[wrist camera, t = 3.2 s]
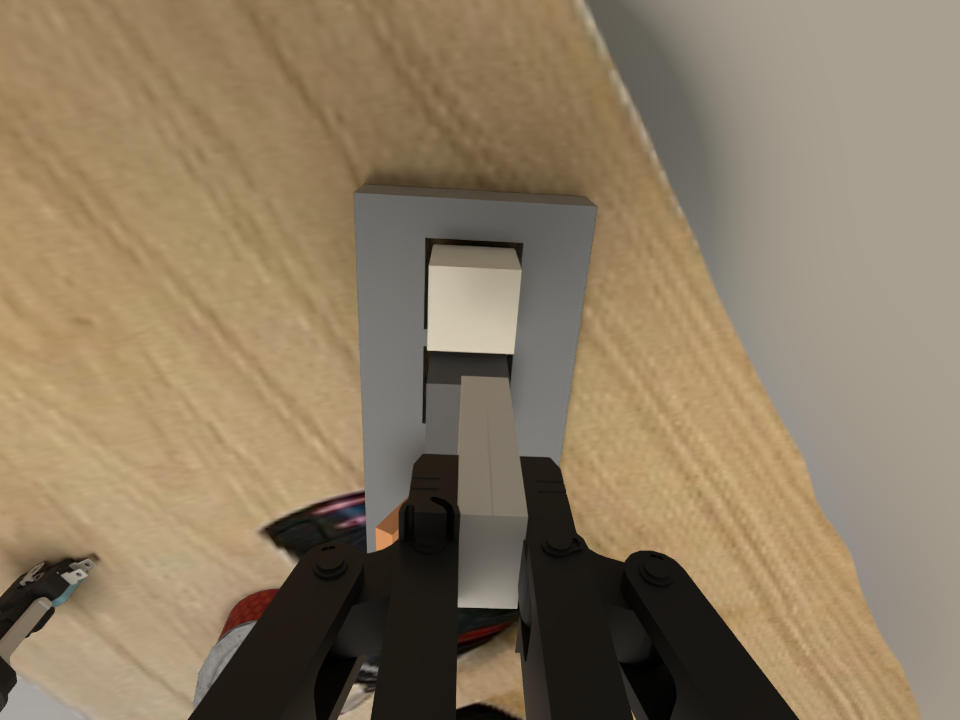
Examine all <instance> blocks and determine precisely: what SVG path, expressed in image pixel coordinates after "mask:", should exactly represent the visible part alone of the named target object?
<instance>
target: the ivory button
mask: <svg viewBox="0 0 960 720" xmlns="http://www.w3.org/2000/svg"><path fill="white" fill-rule="evenodd" d="M521 273H522V269H521V266H520V263H519V260H518V257H517V254H516V251H515V248H499V247H480V246H461V245H442V244H433V248H432V253H431V258H430V263H429V284H428V335H427V350H428V351H451V352H474V353H497V354H514V348H515V337H516V327H517V316H518V305H519V295H520V284H521Z"/></svg>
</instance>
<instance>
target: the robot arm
mask: <svg viewBox="0 0 960 720" xmlns="http://www.w3.org/2000/svg"><path fill="white" fill-rule="evenodd" d="M563 482H564V481H563V477H562V473H561V469H560V468H559V467H558V466H557V464H556V463H555V462H554V461H553V460H552V459H551V458H550V457H531V456H519V450H518V443H517V436H516V429H515V422H514V415H513V408H512V401H511V394H510V387H509V380H508V378H501V377H478V376H461V396H460V416H459V436H458V455H447V454H422V455H421V456H420V457H419V459H418V460H417V461H416V462H415V463H414V464H413V471H412V478H411V484H410V490H409V497H408V499H407V500H406V501H405V502H404V503H403V504H402V505H401V507H400V509H399V511H398V527H399V538H398V539H397V540H396V541H395V542H394V543H393V544H391V545H390V546H388V547H386V548H384V549H382V550H378V551H375V552H371V553H367V554H362V555H361V553H360V552H359V551H358V550H357V549H356V548H355V547H354V546H352V545H349V544H347V543H340V542H331V543H326V544H321V545H319V546H317V547H315V548H313V549H311V550H309V551H308V552H307V553H306V554H305V555H304V556H303V557H302V558H301V559H300V561H299V562H298V564H297V565H296V567H295V568H294V569H293V571H292V572H291V574H290V575H289V577H288V578H287V579H286V581H285V582H284V584H283V585H282V586H281V588H280V589H279V591H278V592H277V594H276V595H275V596H274V598H273V599H272V601H271V602H270V604H269V605H268V606H267V608H266V609H265V611H264V612H263V613H262V615H261V616H260V618H259V619H258V621H257V622H256V623H255V625H254V626H253V628H252V629H251V631H250V632H249V633H248V635H247V636H246V638H245V639H244V640H243V642H242V643H241V645H240V646H239V648H238V649H237V650H236V652H235V653H234V655H233V656H232V658H231V659H230V660H229V662H228V663H227V665H226V666H225V668H224V669H223V670H222V672H221V673H220V675H219V676H218V677H217V679H216V680H215V682H214V683H213V685H212V686H211V687H210V689H209V690H208V692H207V693H206V695H205V696H204V697H203V699H202V700H201V702H200V703H199V704H198V706H197V707H196V709H195V710H194V712H193V713H192V714H191V716H190V717H189V719H188V720H337V719H338V716H339V714H340V712H341V710H342V708H343V705H344V703H345V701H346V699H347V697H348V695H349V692H350V690H351V688H352V686H353V684H354V681H355V679H356V677H357V675H358V673H359V670H360V668H361V666H362V664H363V662H364V660H365V655H366V654H368V653H372V652H375V651H379V650H381V657H380V663H379V669H378V676H377V682H376V688H375V695H374V701H373V708H372V714H371V720H456V674H457V621H458V607H471V608H508V609H517V605H518V596H519V605H520V618H519V626H518V634H517V642H516V650H515V653H520V656H521V667H522V678H523V689H524V700H525V711H526V720H633V716H632V712H633V714H634V716H635V718H636V720H799V719H798V717H797V716H796V715H795V713H794V712H793V711H792V710H791V708H790V707H789V706H788V704H787V703H786V702H785V700H784V699H783V698H782V696H781V695H780V694H779V693H778V691H777V690H776V689H775V687H774V686H773V685H772V683H771V682H770V681H769V680H768V678H767V677H766V676H765V674H764V673H763V672H762V670H761V669H760V668H759V666H758V665H757V664H756V663H755V661H754V660H753V659H752V657H751V656H750V655H749V653H748V652H747V651H746V649H745V648H744V647H743V646H742V644H741V643H740V642H739V640H738V639H737V638H736V636H735V635H734V634H733V633H732V631H731V630H730V629H729V627H728V626H727V625H726V623H725V622H724V621H723V619H722V618H721V617H720V616H719V614H718V613H717V612H716V610H715V609H714V608H713V606H712V605H711V604H710V602H709V601H708V600H707V599H706V597H705V596H704V595H703V593H702V592H701V591H700V589H699V588H698V587H697V586H696V584H695V583H694V582H693V580H692V579H691V578H690V576H689V575H688V574H687V572H686V571H685V570H684V569H683V568H682V567H681V566H680V565H679V564H678V563H677V562H676V561H675V560H674V559H672V558H670V557H668V556H666V555H665V554H662V553H658V552H655V551H638V552H635V553H632V554H631V555H630V556H629V557H628V558H627V559H626V560H625V562H621V561H618V560H614V559H610V558H607V557H604V556H602V555H599V554H597V553H595V552H593V551H592V550H590V549H589V548H588V546H587V545H586V543H585V541H584V539H583V538H582V537H581V536H580V535H578V534H577V533H576V529H575V525H574V521H573V517H572V513H571V509H570V505H569V501H568V497H567V494H566V489H565V485H564V484H563ZM631 710H632V712H631Z"/></svg>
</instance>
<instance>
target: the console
mask: <svg viewBox="0 0 960 720" xmlns="http://www.w3.org/2000/svg"><path fill="white" fill-rule="evenodd" d="M354 213H355V240H356V266H357V292H358V319H359V345H360V372H361V398H362V424H363V451H364V477H365V503H366V530H367V553H371V552H375V551H376V526H378V525H379V524H380V523H381V522H382V521H383V520H384V519H385V518H386V517H387V516H388V515H389V514H390V513H391V512H392V511H393V510H394V509H396V508H397V507H398V506H399V505H400V504H401V503H402V502H403V501H404V500H405V499H406V498H407V497H408V496H409V490H410V484H411V478H412V471H413V464H414V463H415V462H416V461H417V460H418V459H419V457H420V456H421V455H422V454H425V436H426V398H425V395H426V346H427V335H428V310H427V290H428V238H441V239H459V240H478V241H497V242H516V243H517V253H516V254H517V257H518V260H519V263H520V266H521V269H522V273H521V284H520V295H519V305H518V316H517V327H516V337H515V348H514V354H508V355H507V366H508V372H509V378H510V385H511V390H510V394H511V401H512V408H513V415H514V422H515V429H516V436H517V443H518V450H519V456H531V457H550V458H551V459H552V460H553V461H554V462H555V463H556V464H557V466H558V467H559V465H560V458H561V452H562V445H563V438H564V431H565V424H566V418H567V411H568V404H569V397H570V390H571V384H572V377H573V370H574V363H575V357H576V350H577V343H578V336H579V329H580V323H581V316H582V309H583V302H584V295H585V289H586V282H587V275H588V268H589V261H590V255H591V248H592V241H593V234H594V227H595V221H596V214H597V206H596V205H595V204H594V203H593V202H591V201H590V200H589V199H588V198H587V197H581V196H564V195H546V194H529V193H511V192H494V191H476V190H459V189H441V188H424V187H406V186H389V185H372V184H363V185H362V186H361V187H360V188H359V189H358V190H356V191H355V192H354ZM447 455H449V454H447Z"/></svg>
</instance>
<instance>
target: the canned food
mask: <svg viewBox="0 0 960 720" xmlns="http://www.w3.org/2000/svg"><path fill="white" fill-rule="evenodd" d="M278 591H279V589H269V590H264V591H260V592H257V593H254V594H251V595H249V596H248V597H246V598H244V599H243V600H241V601H240V602H239V603H238V604H237V605H236V606H235V607H234V608H233V610H232V611H231V613H230V614H229V617H228V619H227V621H226V624H225V626H224V628H223V630H222V633H221V635H220V637H219V639H218V641H217V643H216V645H215V646H213V647H212V649H211V651H210V653H209V655H208V657H207V659H206V660H205V662H204V664H203V666H202V667H201V669H200V671H199V673H198V679H197V686H196V691H195V696H194V701H193V706H194V710H195V709H196V707H197V706H198V704H199V703H200V702H201V700H202V699H203V697H204V696H205V695H206V693H207V692H208V690H209V689H210V687H211V686H212V685H213V683H214V682H215V680H216V679H217V677H218V676H219V675H220V673H221V672H222V670H223V669H224V668H225V666H226V665H227V663H228V662H229V660H230V659H231V658H232V656H233V655H234V653H235V652H236V650H237V649H238V648H239V646H240V645H241V643H242V642H243V640H244V639H245V638H246V636H247V635H248V633H249V632H250V631H251V629H252V628H253V626H254V625H255V623H256V622H257V621H258V619H259V618H260V616H261V615H262V613H263V612H264V611H265V609H266V608H267V606H268V605H269V604H270V602H271V601H272V599H273V598H274V596H275V595H276V594H277V592H278Z"/></svg>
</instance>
